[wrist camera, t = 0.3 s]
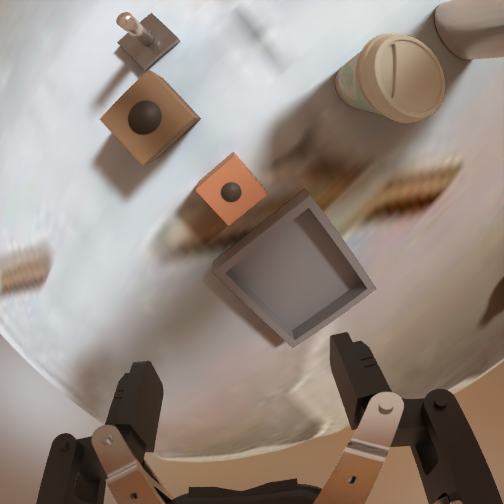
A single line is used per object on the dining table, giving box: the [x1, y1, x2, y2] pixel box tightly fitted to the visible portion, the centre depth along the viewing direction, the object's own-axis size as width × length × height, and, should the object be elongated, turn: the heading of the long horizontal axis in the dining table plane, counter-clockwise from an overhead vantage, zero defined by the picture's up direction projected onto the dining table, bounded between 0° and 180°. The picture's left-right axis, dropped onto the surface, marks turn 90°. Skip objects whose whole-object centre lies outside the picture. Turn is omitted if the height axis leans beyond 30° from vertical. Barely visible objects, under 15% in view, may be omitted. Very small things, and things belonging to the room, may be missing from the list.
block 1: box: [100, 70, 201, 166], centre depth 27 cm, size 6×6×7 cm
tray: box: [213, 189, 376, 348], centre depth 38 cm, size 14×16×3 cm
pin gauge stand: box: [117, 12, 180, 70], centre depth 22 cm, size 5×5×9 cm
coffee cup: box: [335, 33, 445, 123], centre depth 24 cm, size 8×9×12 cm
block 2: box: [195, 152, 267, 226], centre depth 32 cm, size 5×5×5 cm
